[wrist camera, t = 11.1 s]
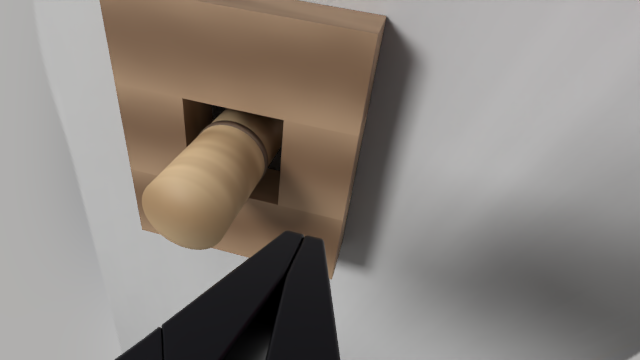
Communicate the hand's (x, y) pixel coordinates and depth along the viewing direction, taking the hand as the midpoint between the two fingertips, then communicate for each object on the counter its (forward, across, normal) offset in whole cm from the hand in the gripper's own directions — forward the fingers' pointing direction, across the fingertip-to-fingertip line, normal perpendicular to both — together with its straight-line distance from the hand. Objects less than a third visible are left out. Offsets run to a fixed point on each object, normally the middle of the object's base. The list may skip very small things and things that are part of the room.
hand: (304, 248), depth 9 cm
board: (+13, +6, +5) cm, 15 cm away
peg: (+13, +6, +5) cm, 15 cm away
